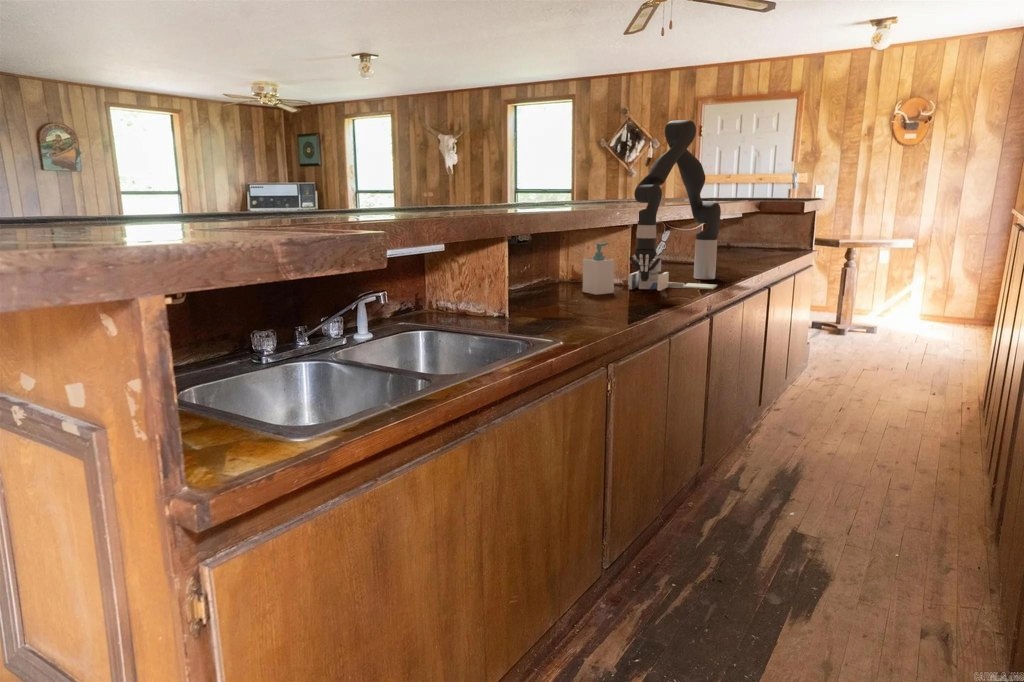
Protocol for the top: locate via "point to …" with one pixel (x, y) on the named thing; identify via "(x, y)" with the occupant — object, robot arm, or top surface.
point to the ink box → (650, 278)
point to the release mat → (700, 286)
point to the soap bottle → (598, 273)
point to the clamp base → (634, 282)
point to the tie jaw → (663, 281)
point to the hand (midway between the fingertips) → (644, 280)
